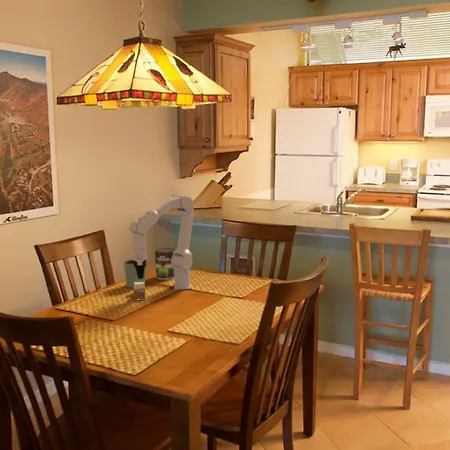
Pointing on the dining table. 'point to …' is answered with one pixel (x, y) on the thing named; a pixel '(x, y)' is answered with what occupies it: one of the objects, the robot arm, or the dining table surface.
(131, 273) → the teal cup
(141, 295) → the walnut block
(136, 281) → the teal block
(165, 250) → the coffee can
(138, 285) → the cream block
